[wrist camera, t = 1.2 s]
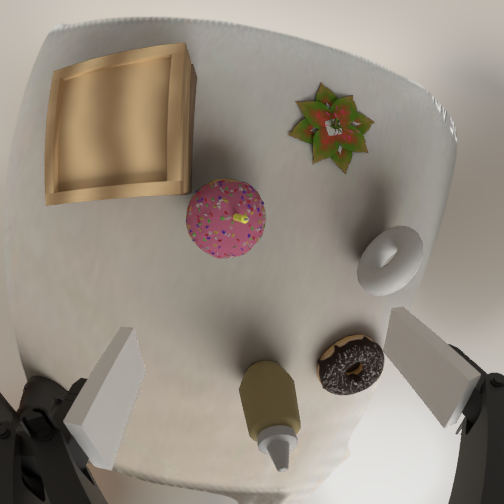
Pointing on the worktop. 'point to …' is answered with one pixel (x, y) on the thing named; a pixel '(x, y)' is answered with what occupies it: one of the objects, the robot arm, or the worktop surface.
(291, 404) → the squeeze bottle
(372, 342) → the donut
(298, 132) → the lily flower
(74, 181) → the tower top
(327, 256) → the worktop surface
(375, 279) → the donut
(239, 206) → the cupcake
